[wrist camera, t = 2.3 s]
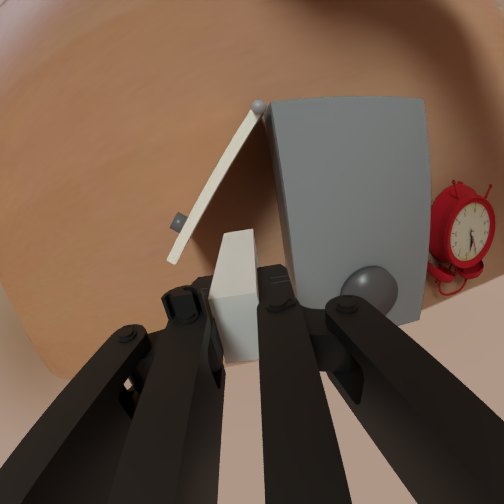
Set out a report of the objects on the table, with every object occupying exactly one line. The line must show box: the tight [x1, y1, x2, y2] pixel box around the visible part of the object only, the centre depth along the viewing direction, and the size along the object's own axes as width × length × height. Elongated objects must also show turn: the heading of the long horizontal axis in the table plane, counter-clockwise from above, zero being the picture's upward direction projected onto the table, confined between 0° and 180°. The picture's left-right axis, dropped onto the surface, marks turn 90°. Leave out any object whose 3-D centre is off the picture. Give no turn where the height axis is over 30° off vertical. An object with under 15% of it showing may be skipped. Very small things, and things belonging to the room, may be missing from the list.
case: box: [264, 96, 431, 326], centre depth 24 cm, size 20×12×10 cm, turn 9°
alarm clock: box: [427, 180, 495, 296], centre depth 28 cm, size 10×6×15 cm
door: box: [167, 100, 267, 265], centre depth 23 cm, size 14×2×8 cm, turn 149°
